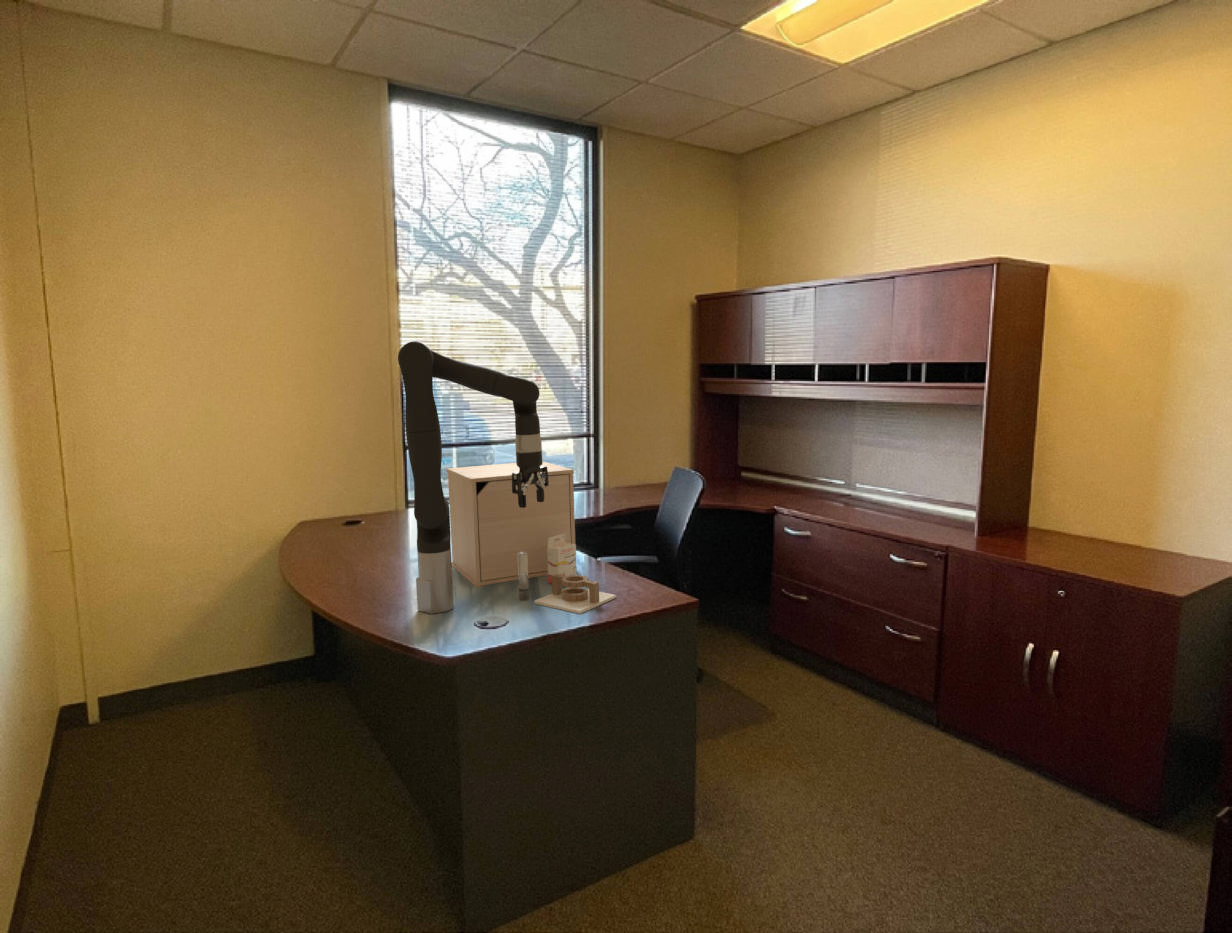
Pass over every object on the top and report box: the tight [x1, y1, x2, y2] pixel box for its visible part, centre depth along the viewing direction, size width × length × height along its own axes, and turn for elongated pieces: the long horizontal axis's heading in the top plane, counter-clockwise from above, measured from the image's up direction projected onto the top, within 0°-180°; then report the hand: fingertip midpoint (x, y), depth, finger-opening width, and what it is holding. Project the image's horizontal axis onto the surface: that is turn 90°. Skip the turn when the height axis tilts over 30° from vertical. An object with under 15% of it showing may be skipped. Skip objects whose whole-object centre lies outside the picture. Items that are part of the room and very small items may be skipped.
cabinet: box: [446, 460, 578, 587], centre depth 246 cm, size 35×29×34 cm
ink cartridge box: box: [547, 534, 577, 584], centre depth 230 cm, size 9×5×15 cm, turn 141°
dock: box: [533, 574, 617, 615], centre depth 210 cm, size 17×17×6 cm
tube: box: [517, 551, 530, 601], centre depth 213 cm, size 3×3×14 cm
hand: (531, 504), depth 211 cm, fingers open, 8 cm apart
